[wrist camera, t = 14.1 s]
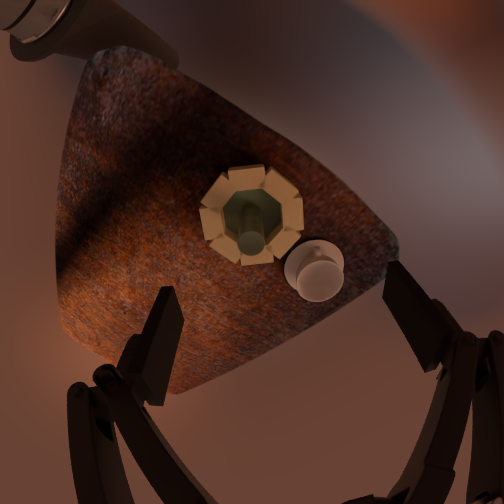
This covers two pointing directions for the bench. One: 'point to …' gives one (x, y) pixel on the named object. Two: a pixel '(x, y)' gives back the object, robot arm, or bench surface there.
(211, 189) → the ring of blocks
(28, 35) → the robot arm
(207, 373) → the bench surface
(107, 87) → the bench surface
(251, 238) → the stand
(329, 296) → the teacup
